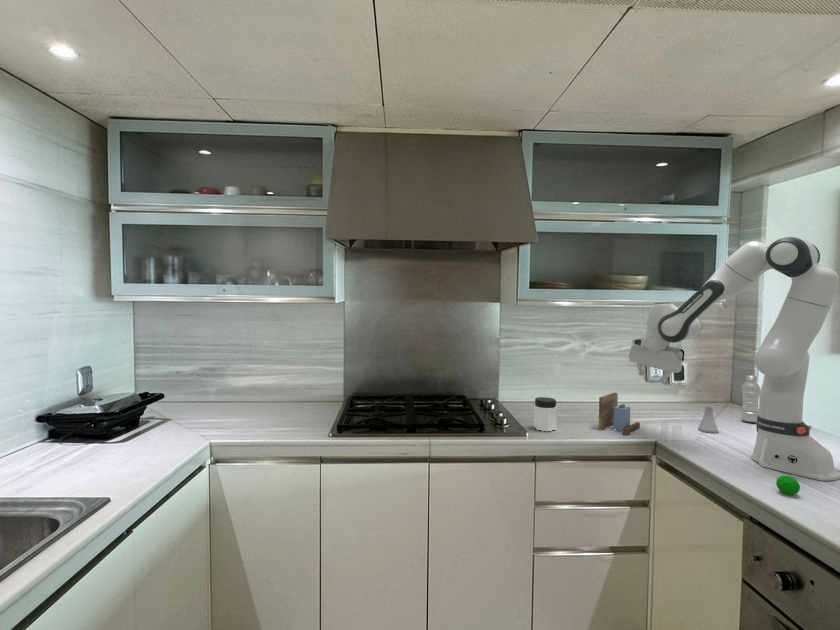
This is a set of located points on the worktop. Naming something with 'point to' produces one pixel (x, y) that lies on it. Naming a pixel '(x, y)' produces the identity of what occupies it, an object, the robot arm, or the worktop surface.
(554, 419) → the jar
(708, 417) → the flask
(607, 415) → the cleat board
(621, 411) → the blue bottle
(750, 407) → the plastic bottle
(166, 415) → the worktop surface
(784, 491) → the polyhedron
